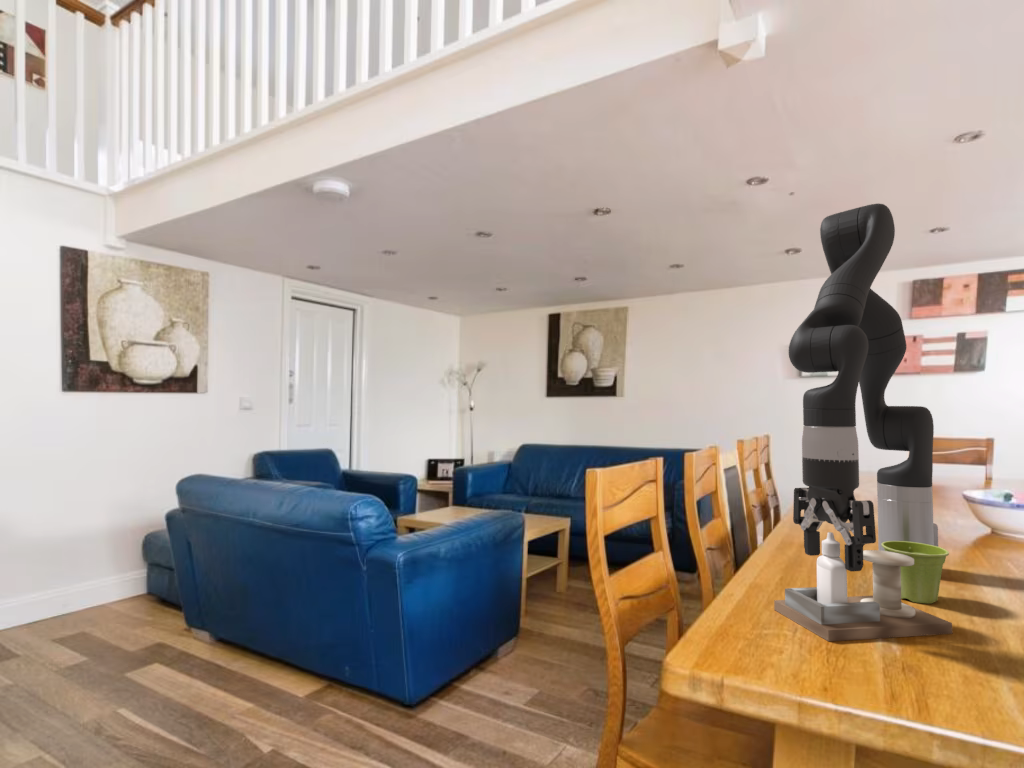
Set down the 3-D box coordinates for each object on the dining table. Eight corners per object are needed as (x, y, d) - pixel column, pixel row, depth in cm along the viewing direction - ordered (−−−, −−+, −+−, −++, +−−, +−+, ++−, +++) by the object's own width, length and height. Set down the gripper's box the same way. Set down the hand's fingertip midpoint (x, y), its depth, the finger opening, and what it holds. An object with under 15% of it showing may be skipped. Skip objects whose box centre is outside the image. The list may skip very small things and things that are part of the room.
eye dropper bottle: (812, 614, 82) (811, 533, 83) (818, 604, 86) (817, 527, 87) (846, 621, 79) (844, 538, 80) (851, 610, 84) (849, 531, 84)
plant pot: (963, 610, 89) (961, 556, 89) (898, 605, 90) (897, 552, 91) (931, 591, 98) (929, 542, 98) (872, 587, 100) (871, 539, 100)
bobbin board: (884, 604, 91) (882, 545, 91) (952, 633, 79) (950, 565, 80) (774, 609, 88) (773, 548, 88) (828, 641, 76) (827, 570, 76)
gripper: (890, 460, 77) (892, 575, 77) (818, 451, 92) (820, 549, 91) (842, 460, 76) (845, 578, 76) (778, 452, 90) (779, 551, 90)
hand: (831, 562), depth 83 cm, fingers open, 8 cm apart
